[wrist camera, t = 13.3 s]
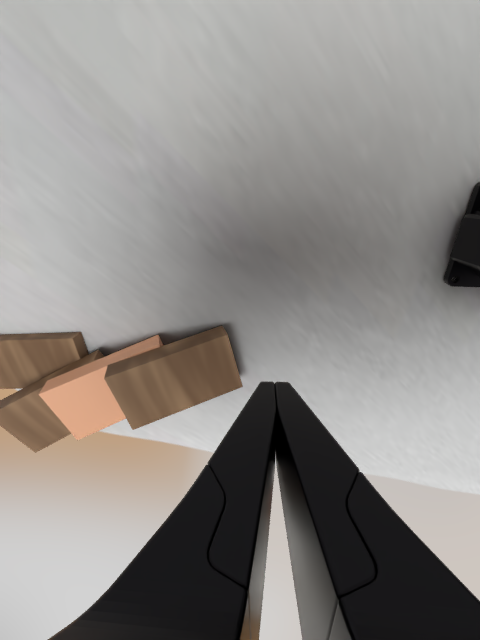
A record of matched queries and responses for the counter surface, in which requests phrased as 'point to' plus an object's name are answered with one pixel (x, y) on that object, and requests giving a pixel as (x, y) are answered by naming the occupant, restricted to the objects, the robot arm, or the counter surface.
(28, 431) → the domino
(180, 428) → the counter surface
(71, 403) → the domino
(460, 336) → the counter surface
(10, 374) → the domino
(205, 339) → the domino
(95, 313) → the counter surface
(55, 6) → the counter surface
